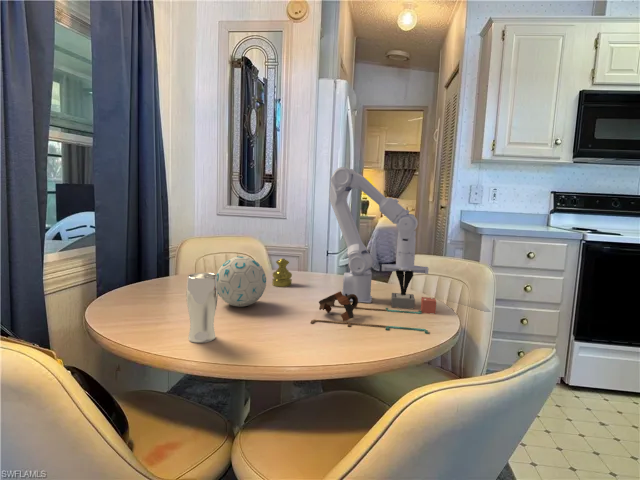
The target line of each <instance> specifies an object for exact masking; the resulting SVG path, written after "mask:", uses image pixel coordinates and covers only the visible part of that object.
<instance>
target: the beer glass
mask: <svg viewBox="0 0 640 480" xmlns="http://www.w3.org/2000/svg"><path fill="white" fill-rule="evenodd" d="M186 280H187V281H186V294H185V296H186V305H187V310H188V316H189V323H190V324H189V333H188V341H189V342H191V343H194V344H203V343H204V344H205V343H210V342H212V341H214V340H215V339H216V333H215V332H216V331H215V324H214V323H215V315H216V310H217V306H218V305H217V304H218V299H219V298H218V296H219V294H218V285H217V273H216V274H215V273H213V272H197V273H196V272H194V273H190V274H188V275H187V279H186Z"/></svg>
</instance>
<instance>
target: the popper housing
mask: <svg viewBox="0 0 640 480" xmlns="http://www.w3.org/2000/svg"><path fill="white" fill-rule="evenodd" d="M398 293H399V292H391V300H390V303H391V305H392V306H391V308H395V307H399V308H400V309H408V308H413V309H412V310H415V303H416V299H415V296H414V294H413V293H408V294H409V295H410V298H397V297H396V294H398ZM399 308H398V309H399Z"/></svg>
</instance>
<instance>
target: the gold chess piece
mask: <svg viewBox="0 0 640 480" xmlns="http://www.w3.org/2000/svg"><path fill="white" fill-rule="evenodd" d="M275 264H276V265H278V268H276V270H274V271H273V272H272V274H271V275H272V277H273V278H272V280H271V281H272V286H274V287H277V288H279V287H280V288H286V287H291V286H292V283H293V281H292V280H293V279H292V276H293V273H292V272H291V271H289V269H288V268H287V266H288V265H289V264H290V261H289V260H287V259H286V258H280V259H277V260H276V261H275Z"/></svg>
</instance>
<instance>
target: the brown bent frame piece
mask: <svg viewBox="0 0 640 480" xmlns="http://www.w3.org/2000/svg"><path fill="white" fill-rule="evenodd" d="M350 299H352V300H353V301H350ZM336 301H337V302H338V304H340V306H344V307H345V308H344V309H345V312H342V313H341V314H340V317H341V319H342V322H347V321H349V320H350V319H353V318H354V312H353V311H354V310H356V309H355V308H356V307H358V304H359V302H358V298H357V296H356V295H354V294H350V295H347V296H344V295H343V294H342V291H341V290H339V291H337V292H335V293H334V294H331V295H329V296H327V297H325V298H322V299H320V300H319V301H318V303H319V309H318V310H319V311H321V310H322V311H326V312H327V313H330V312H331V311H332V310H333V309H332V308H333V307H330V306H335V302H336Z"/></svg>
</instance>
